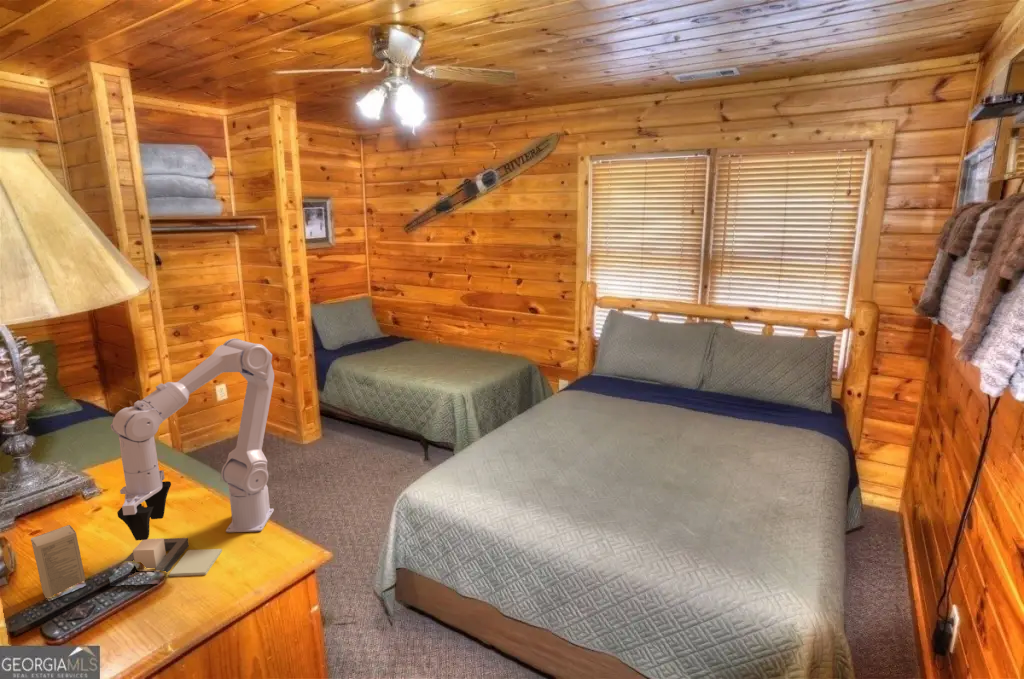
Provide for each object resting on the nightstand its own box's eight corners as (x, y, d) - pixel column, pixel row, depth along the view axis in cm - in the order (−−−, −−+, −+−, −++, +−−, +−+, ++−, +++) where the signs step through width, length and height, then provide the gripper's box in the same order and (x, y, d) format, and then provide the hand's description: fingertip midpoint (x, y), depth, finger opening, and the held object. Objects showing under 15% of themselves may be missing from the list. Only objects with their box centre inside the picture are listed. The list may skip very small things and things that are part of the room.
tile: (188, 552, 120) (187, 550, 120) (221, 551, 121) (221, 548, 121) (169, 576, 113) (169, 573, 112) (205, 574, 113) (205, 572, 113)
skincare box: (80, 577, 112) (71, 523, 109) (87, 587, 109) (77, 532, 106) (41, 593, 107) (29, 537, 104) (47, 604, 104) (35, 546, 101)
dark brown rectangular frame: (145, 547, 122) (144, 539, 121) (188, 545, 123) (187, 537, 122) (109, 586, 109) (108, 577, 109) (158, 584, 110) (156, 575, 110)
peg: (146, 559, 118) (143, 539, 116) (166, 559, 118) (163, 538, 117) (136, 572, 114) (132, 550, 113) (156, 571, 114) (153, 549, 113)
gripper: (134, 452, 115) (143, 511, 119) (99, 486, 102) (110, 551, 105) (171, 450, 117) (179, 508, 120) (142, 482, 103) (152, 547, 106)
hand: (150, 528), depth 112 cm, fingers open, 7 cm apart
